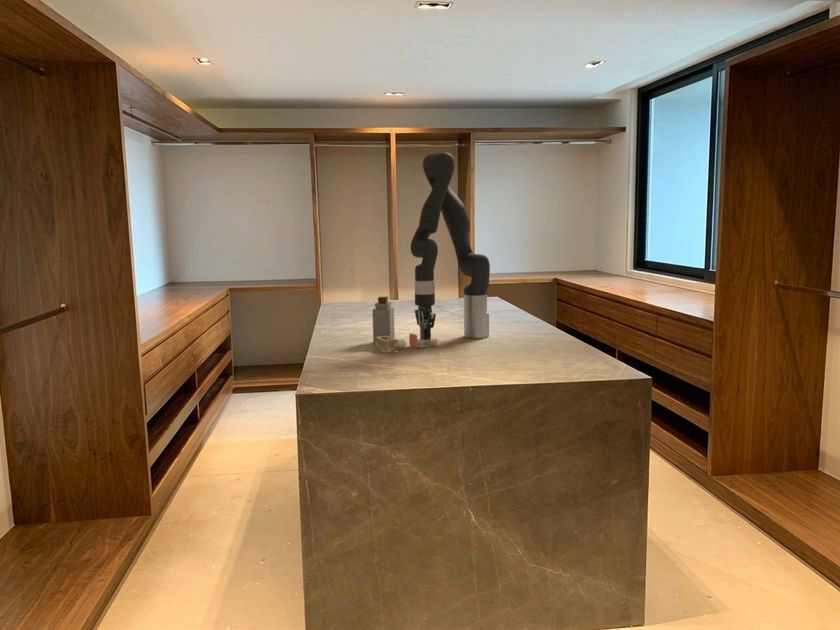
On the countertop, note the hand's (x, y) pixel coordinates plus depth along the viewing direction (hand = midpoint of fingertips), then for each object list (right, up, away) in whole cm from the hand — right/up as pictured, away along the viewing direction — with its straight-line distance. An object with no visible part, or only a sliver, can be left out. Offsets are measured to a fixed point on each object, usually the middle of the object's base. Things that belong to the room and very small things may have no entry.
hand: (425, 337), depth 244 cm
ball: (-9, -2, -4) cm, 10 cm away
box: (-14, -4, -6) cm, 16 cm away
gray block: (0, -3, 0) cm, 3 cm away
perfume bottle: (-16, -3, +7) cm, 18 cm away
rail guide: (0, -3, 0) cm, 3 cm away
